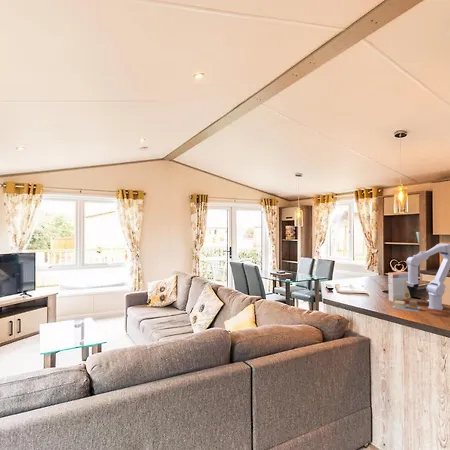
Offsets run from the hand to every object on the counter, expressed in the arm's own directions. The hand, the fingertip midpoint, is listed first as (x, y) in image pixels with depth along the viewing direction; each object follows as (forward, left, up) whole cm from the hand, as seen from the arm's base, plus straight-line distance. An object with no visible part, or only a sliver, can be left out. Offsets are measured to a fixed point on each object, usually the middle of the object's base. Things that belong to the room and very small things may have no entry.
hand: (413, 295), depth 219 cm
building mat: (-1, -4, -9) cm, 10 cm away
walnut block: (0, 0, -9) cm, 9 cm away
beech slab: (-2, -8, -9) cm, 12 cm away
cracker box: (-20, -11, -9) cm, 25 cm away
